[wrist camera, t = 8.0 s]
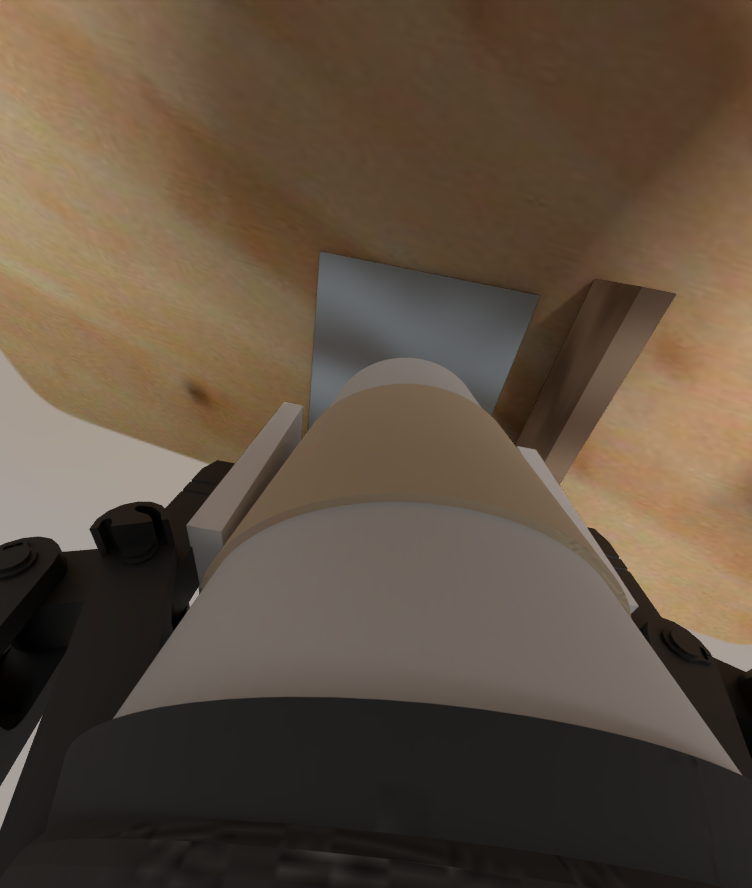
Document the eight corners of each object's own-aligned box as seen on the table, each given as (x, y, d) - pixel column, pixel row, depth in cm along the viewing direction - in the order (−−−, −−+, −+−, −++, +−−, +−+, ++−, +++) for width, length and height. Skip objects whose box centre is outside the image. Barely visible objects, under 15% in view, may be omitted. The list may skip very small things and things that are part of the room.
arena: (308, 220, 17) (283, 213, 13) (622, 284, 17) (676, 293, 14) (297, 453, 24) (279, 487, 21) (512, 494, 25) (529, 533, 21)
